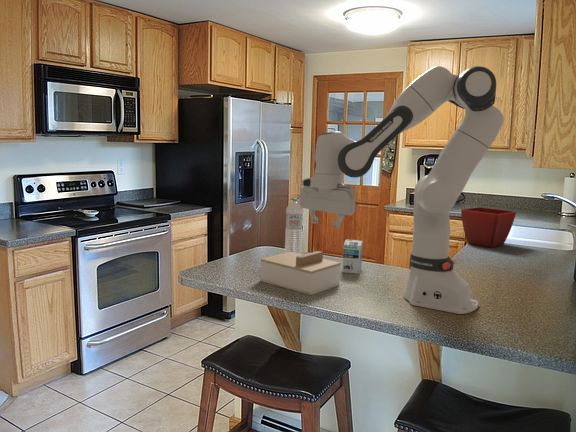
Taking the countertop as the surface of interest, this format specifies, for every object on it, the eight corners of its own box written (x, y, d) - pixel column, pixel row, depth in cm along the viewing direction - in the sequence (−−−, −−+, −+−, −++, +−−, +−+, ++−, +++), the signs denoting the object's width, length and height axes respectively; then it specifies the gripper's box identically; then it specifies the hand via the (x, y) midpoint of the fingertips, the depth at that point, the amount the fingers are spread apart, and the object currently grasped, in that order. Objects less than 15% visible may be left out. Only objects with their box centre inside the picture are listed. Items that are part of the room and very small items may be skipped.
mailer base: (339, 285, 171) (340, 265, 170) (310, 295, 159) (311, 274, 158) (290, 272, 185) (290, 253, 184) (260, 281, 173) (260, 261, 172)
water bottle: (303, 258, 206) (306, 198, 202) (297, 262, 200) (299, 200, 196) (288, 256, 209) (290, 197, 205) (281, 260, 203) (283, 198, 199)
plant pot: (477, 238, 260) (480, 206, 257) (513, 245, 246) (517, 211, 243) (457, 242, 248) (460, 209, 245) (494, 250, 234) (497, 214, 231)
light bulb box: (359, 274, 185) (361, 245, 184) (341, 272, 187) (343, 244, 185) (361, 267, 196) (363, 240, 194) (344, 265, 197) (345, 239, 195)
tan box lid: (340, 264, 170) (340, 254, 169) (311, 273, 158) (311, 262, 157) (290, 253, 184) (291, 243, 183) (260, 261, 172) (260, 250, 171)
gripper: (360, 185, 156) (358, 228, 158) (309, 179, 169) (307, 219, 171) (349, 186, 151) (346, 231, 153) (297, 180, 164) (295, 221, 166)
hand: (325, 225), depth 162 cm, fingers open, 8 cm apart
